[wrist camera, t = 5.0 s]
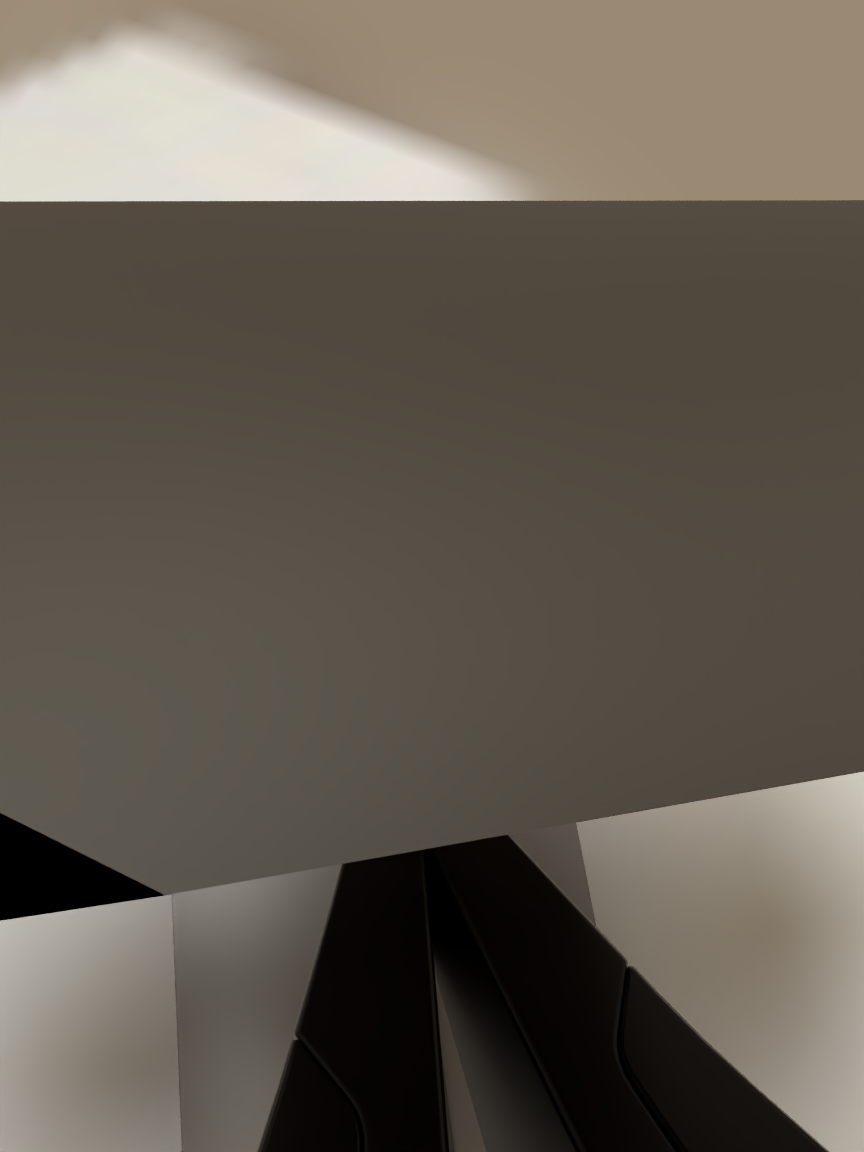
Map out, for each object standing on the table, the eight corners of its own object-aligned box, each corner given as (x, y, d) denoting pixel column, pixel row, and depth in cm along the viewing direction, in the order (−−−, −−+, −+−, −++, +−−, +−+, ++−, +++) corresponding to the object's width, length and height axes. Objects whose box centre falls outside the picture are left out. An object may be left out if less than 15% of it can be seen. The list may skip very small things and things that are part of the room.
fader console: (621, 1229, 14) (671, 1309, 12) (216, 1351, 12) (193, 1464, 10) (477, 438, 18) (495, 397, 16) (173, 458, 17) (152, 416, 15)
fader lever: (490, 774, 14) (1148, 774, 3) (258, 811, 13) (-194, 1041, 2) (466, 630, 14) (897, 171, 3) (247, 657, 13) (-118, 160, 3)
